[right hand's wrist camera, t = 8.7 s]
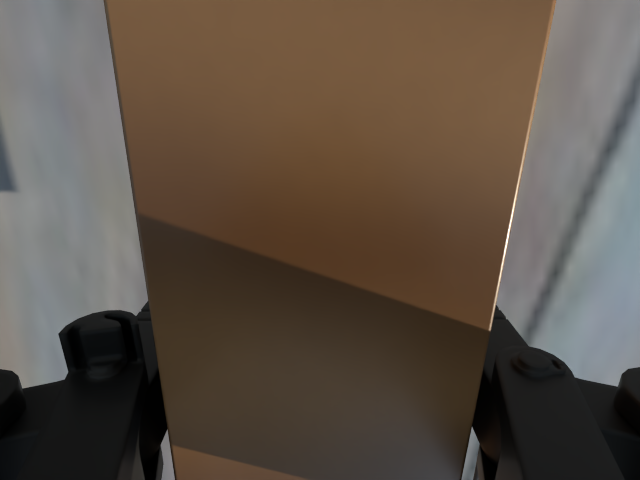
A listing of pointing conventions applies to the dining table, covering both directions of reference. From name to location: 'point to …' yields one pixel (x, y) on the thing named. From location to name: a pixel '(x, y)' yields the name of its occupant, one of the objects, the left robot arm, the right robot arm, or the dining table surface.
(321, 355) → the board
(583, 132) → the dining table surface
